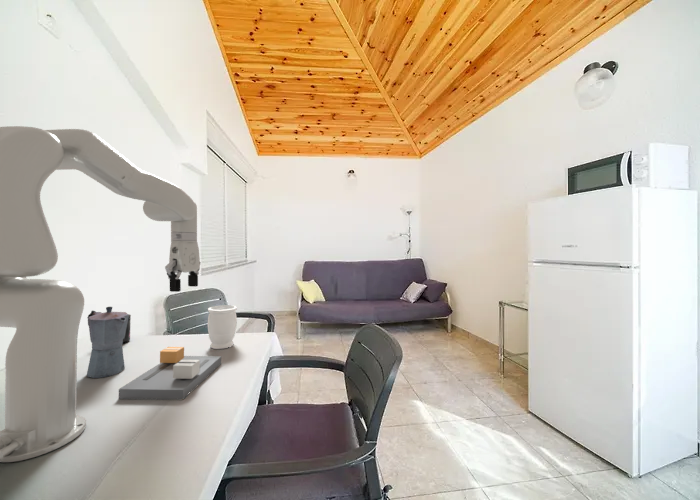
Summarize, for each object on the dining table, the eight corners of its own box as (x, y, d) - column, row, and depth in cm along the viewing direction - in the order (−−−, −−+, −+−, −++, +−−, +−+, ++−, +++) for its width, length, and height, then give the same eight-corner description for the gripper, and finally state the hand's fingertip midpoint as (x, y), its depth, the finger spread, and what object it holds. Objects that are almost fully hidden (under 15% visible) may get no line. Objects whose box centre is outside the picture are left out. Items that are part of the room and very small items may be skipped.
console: (182, 399, 71) (183, 389, 71) (118, 399, 71) (118, 388, 71) (221, 363, 93) (221, 356, 93) (172, 363, 93) (172, 355, 93)
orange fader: (176, 363, 86) (176, 351, 86) (159, 362, 86) (160, 351, 86) (183, 357, 90) (184, 346, 90) (168, 357, 90) (168, 346, 90)
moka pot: (108, 382, 79) (109, 311, 79) (66, 376, 82) (67, 307, 82) (140, 368, 89) (141, 304, 88) (101, 363, 92) (102, 301, 92)
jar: (242, 344, 111) (242, 307, 111) (217, 352, 103) (218, 311, 103) (225, 339, 117) (226, 303, 117) (201, 346, 108) (202, 307, 108)
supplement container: (131, 343, 111) (131, 316, 111) (108, 346, 106) (108, 319, 106) (129, 338, 116) (130, 313, 116) (108, 342, 111) (108, 315, 111)
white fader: (191, 378, 76) (192, 365, 76) (173, 378, 76) (173, 365, 76) (199, 372, 80) (199, 359, 80) (181, 371, 80) (181, 359, 80)
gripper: (178, 238, 85) (179, 294, 86) (209, 238, 103) (209, 284, 103) (154, 237, 86) (155, 293, 86) (188, 237, 103) (189, 284, 104)
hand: (184, 288), depth 95 cm, fingers open, 9 cm apart
